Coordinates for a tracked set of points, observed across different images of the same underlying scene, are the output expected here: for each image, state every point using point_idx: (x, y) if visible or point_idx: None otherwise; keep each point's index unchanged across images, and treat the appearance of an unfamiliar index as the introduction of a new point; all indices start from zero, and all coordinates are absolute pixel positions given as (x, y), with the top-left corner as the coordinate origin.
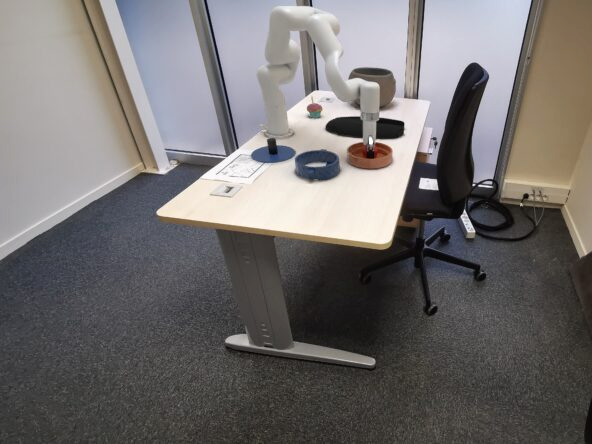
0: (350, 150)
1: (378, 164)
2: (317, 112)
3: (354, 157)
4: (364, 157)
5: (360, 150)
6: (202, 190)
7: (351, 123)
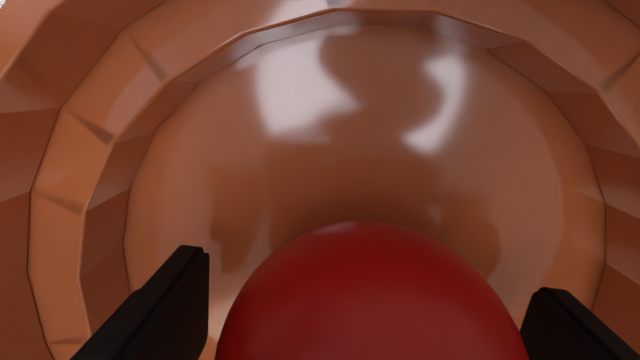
0: (618, 3)
1: (54, 357)
2: None
3: (13, 13)
4: (412, 222)
5: (631, 207)
6: None
7: None
